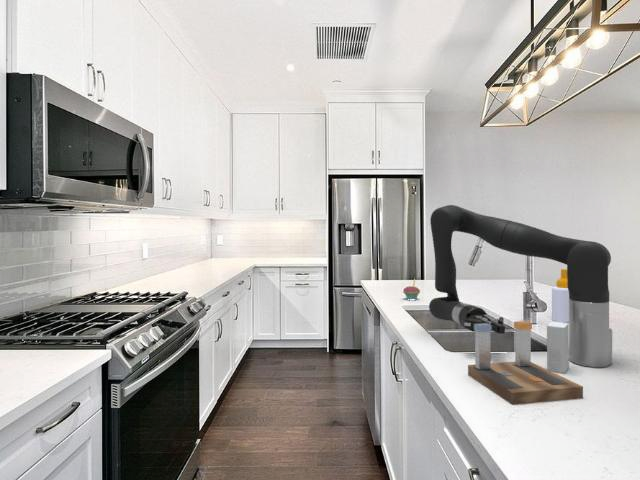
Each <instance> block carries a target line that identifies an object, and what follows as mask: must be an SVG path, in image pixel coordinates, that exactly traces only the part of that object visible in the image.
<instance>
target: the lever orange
mask: <svg viewBox="0 0 640 480" xmlns="http://www.w3.org/2000/svg"><path fill="white" fill-rule="evenodd" d="M513 328H514V330H515V332H514V333H515V334H514V335H515V336H514V337H515V338H514V339H515V340H514V341H515V342H514V344H515V346H514V347H515V348H514V349H515V350H514V354H515V355H514V359H515V361H514V362H515V364H516V365H518V366H531V362H532V361H531V359H532V357H531V356H532V354H531V353H532V351H531V350H532V348H531V347H532V346H531V345H532V342H531V341H532V338H531V337H532V336H531V335H532V334H531V333H532V332H531V330H532V329H533V322H530V321H527V320H520V321H513Z"/></svg>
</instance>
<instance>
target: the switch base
mask: <svg viewBox="0 0 640 480" xmlns="http://www.w3.org/2000/svg"><path fill="white" fill-rule="evenodd" d="M467 375H468V376H469V377H471V378H472V379H474V380H475V381H477V382H478V383H480V384H481V385H483V386H484V387H486V388H487V389H489V390H490V391H492V392H493V393H495V394H496V395H497V396H499V397H501V398H502V399H503V400H505V401H507V402H508V403H510V404H511V405H520V404H530V403H531V404H533V403H542V402H543V403H544V402H553V401H554V402H555V401H561V400H562V401H565V400H566V401H567V400H573V399H574V400H575V399H584V386H583V385H580V384H578V383H576V382H574V381H572V380H570V379H568V378H565V377H564V376H561V375H560V374H557V373H556V372H553V371H549V370H547V368H545V367H542V366H541V365H539V364H536V363H534V362H532V361H531V366H518V365H516V364H515V361H504V362H491V369H480V370H479V369H478V368H476V367H475V364H468V365H467Z"/></svg>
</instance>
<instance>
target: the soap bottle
mask: <svg viewBox="0 0 640 480" xmlns="http://www.w3.org/2000/svg"><path fill="white" fill-rule="evenodd" d="M551 320H552V321H554V322H562V323H568V324H569V291H568V284H567V268H561V269H560V278H558V279H557V280H556V285H555V286H552V287H551Z"/></svg>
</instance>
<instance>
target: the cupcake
mask: <svg viewBox="0 0 640 480" xmlns="http://www.w3.org/2000/svg"><path fill="white" fill-rule="evenodd" d="M412 283H413V284H412V286H410V285H409V286H406V287H404V289H403V291H402V292H403V294H404V295H405V297H406V300H407V299H416V300H418V296H419V294H420V292H421V290H420V289H419V288H418V287H417V286H415V284H416V278H414V279H413V282H412Z"/></svg>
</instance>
